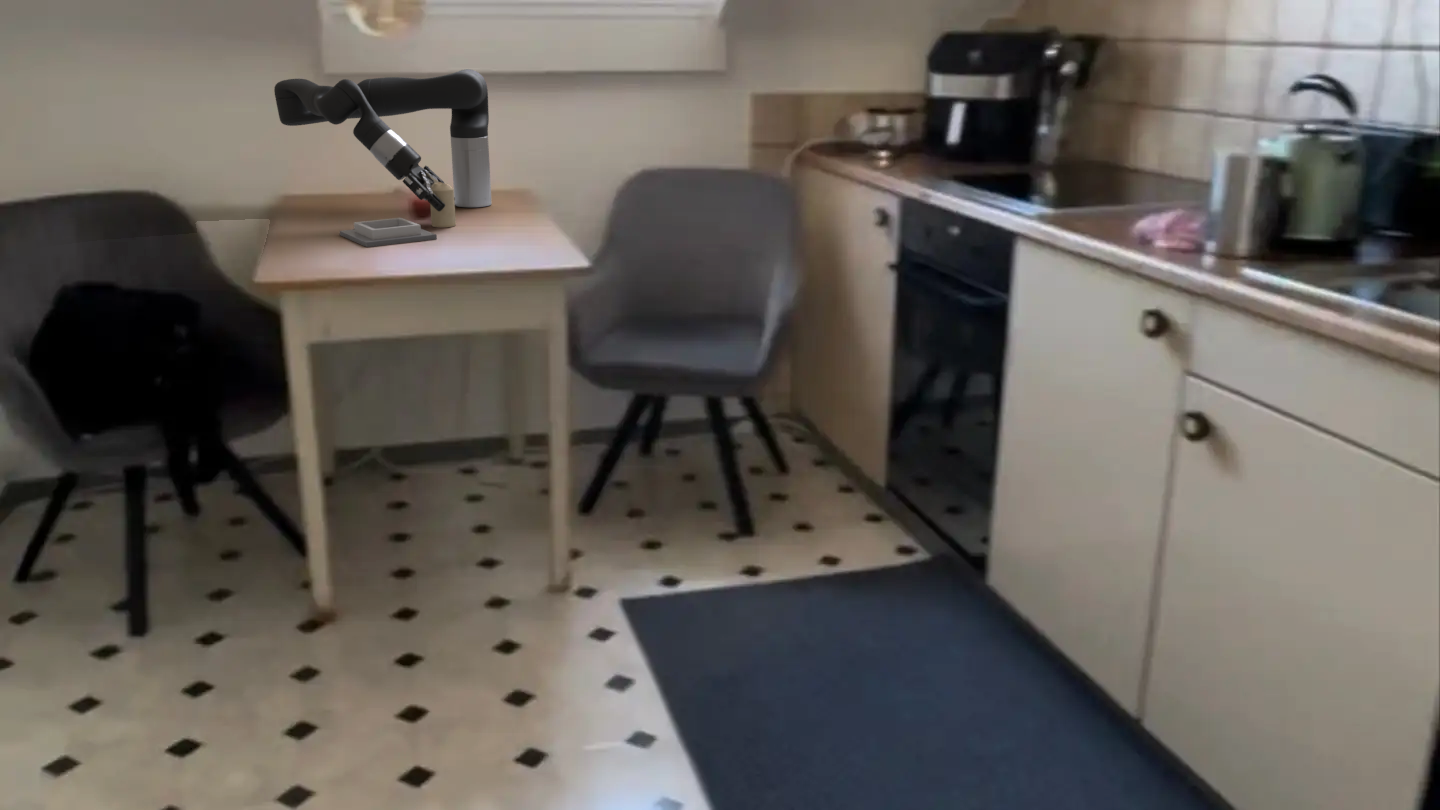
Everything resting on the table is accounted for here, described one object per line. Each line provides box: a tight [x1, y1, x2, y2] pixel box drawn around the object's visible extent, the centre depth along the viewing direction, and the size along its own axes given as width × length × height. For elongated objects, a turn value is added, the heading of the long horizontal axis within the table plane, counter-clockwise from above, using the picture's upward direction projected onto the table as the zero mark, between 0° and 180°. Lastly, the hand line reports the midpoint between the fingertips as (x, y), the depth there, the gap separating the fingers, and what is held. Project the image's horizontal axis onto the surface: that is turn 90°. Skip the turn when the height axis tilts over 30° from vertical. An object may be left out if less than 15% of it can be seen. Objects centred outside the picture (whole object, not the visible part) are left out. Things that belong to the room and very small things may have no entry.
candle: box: [429, 182, 457, 229], centre depth 287 cm, size 6×6×10 cm
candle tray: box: [339, 217, 438, 248], centre depth 275 cm, size 16×16×3 cm
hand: (447, 205), depth 287 cm, fingers open, 8 cm apart
